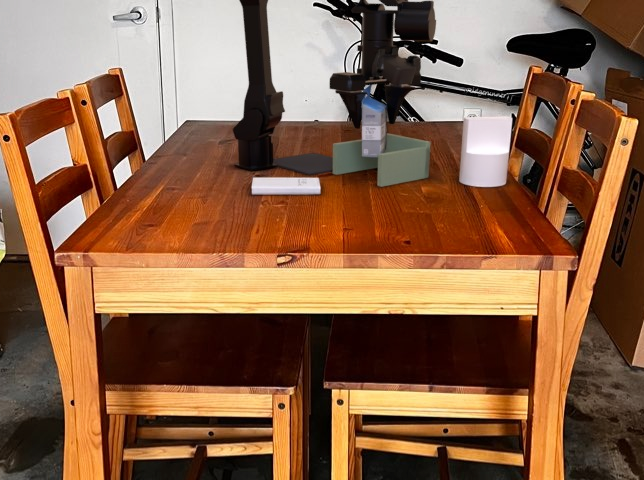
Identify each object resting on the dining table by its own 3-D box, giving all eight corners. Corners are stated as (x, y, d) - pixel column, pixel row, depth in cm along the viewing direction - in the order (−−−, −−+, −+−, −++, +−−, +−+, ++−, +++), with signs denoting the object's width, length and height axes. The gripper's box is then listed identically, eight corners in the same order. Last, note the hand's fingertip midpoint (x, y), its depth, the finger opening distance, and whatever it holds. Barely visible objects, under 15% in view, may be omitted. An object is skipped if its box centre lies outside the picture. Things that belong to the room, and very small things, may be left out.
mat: (309, 175, 162) (309, 173, 162) (262, 162, 174) (262, 160, 174) (361, 166, 170) (361, 164, 170) (314, 154, 182) (314, 152, 182)
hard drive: (253, 185, 155) (318, 184, 155) (251, 195, 147) (320, 195, 148) (253, 176, 154) (318, 176, 154) (251, 186, 146) (320, 186, 147)
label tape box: (380, 158, 155) (383, 90, 150) (359, 156, 156) (362, 89, 151) (387, 148, 163) (390, 84, 158) (366, 147, 164) (369, 83, 158)
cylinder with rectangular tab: (496, 175, 162) (502, 113, 157) (513, 186, 154) (519, 121, 149) (453, 177, 161) (457, 114, 156) (467, 187, 153) (472, 122, 148)
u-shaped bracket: (381, 186, 153) (382, 149, 151) (332, 173, 164) (332, 138, 161) (428, 177, 161) (430, 141, 158) (379, 165, 171) (380, 131, 168)
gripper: (369, 44, 140) (366, 137, 146) (444, 40, 150) (438, 127, 157) (328, 40, 147) (327, 129, 154) (402, 37, 158) (398, 119, 165)
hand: (374, 126), depth 157 cm, fingers closed on label tape box, 8 cm apart
